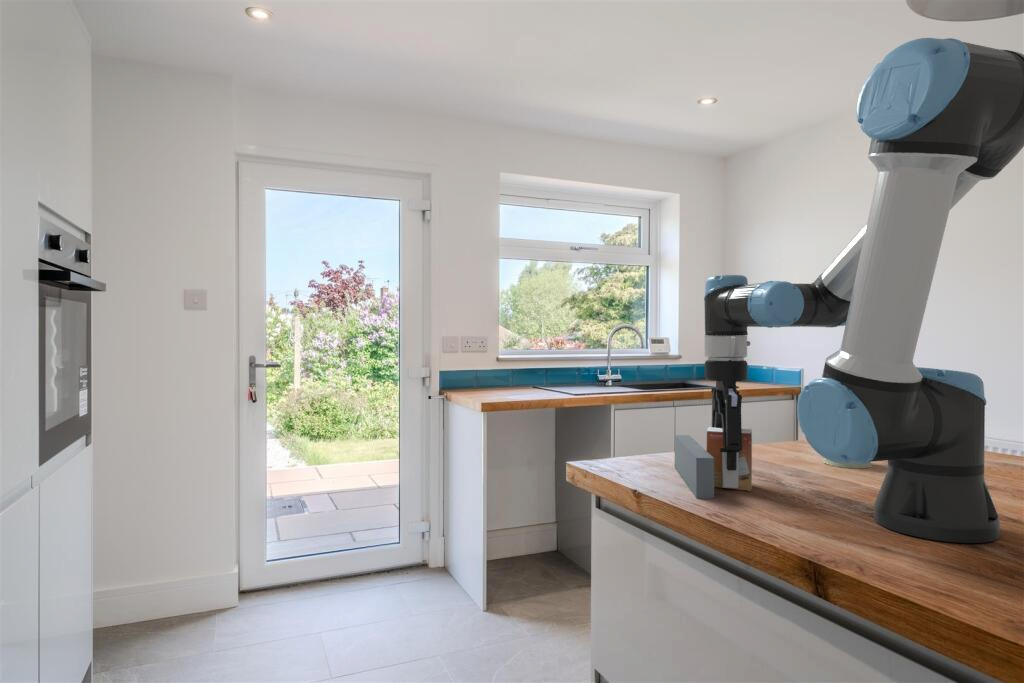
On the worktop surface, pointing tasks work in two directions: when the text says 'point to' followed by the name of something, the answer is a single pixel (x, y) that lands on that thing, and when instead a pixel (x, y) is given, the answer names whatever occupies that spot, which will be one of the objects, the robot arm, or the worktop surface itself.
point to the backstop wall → (694, 466)
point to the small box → (744, 458)
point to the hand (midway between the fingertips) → (725, 482)
